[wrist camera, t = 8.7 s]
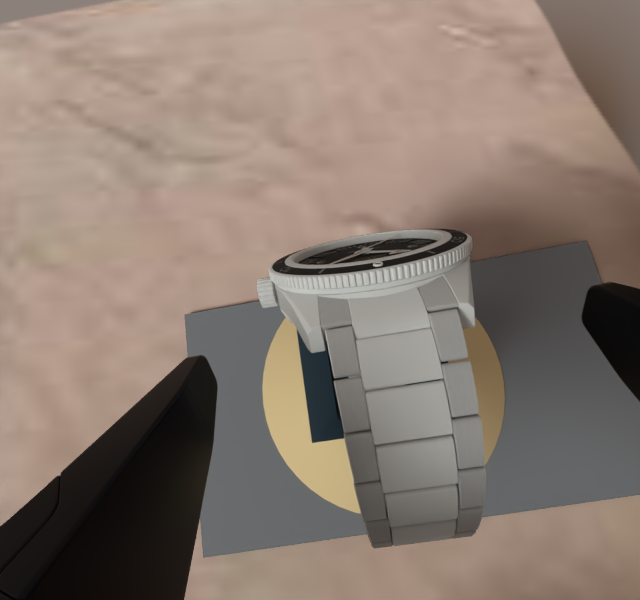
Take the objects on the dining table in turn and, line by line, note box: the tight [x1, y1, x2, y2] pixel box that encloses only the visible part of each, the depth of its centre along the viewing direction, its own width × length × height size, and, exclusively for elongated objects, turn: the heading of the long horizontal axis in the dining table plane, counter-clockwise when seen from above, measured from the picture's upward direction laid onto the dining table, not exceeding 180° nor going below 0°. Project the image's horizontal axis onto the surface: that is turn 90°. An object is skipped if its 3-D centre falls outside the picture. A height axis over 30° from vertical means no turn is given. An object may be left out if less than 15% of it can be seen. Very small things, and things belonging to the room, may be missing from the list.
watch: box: [257, 229, 486, 548], centre depth 11 cm, size 6×8×11 cm
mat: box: [185, 241, 640, 558], centre depth 17 cm, size 12×20×1 cm, turn 99°
